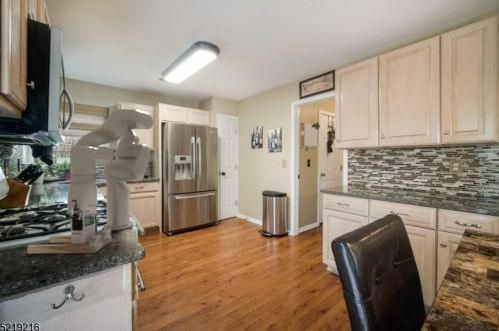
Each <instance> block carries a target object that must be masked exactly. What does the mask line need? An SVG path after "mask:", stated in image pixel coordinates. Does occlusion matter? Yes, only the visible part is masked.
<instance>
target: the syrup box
mask: <svg viewBox="0 0 499 331" xmlns="http://www.w3.org/2000/svg"><path fill="white" fill-rule="evenodd" d="M76 211H79V209H76ZM97 211H98V210H97V208H96V205H92V206H90V207H87V208H86V210H84V211H82V217H81V219H82V223H83V229H82V230H81V231H73V230H72V220H71V219H70V235H71V241H72V243H89V238H91V237H92V236H94V235H96V234H98V216H97ZM76 214H77V215H78V214H79V213H76Z"/></svg>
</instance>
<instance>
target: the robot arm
mask: <svg viewBox="0 0 499 331" xmlns="http://www.w3.org/2000/svg"><path fill="white" fill-rule="evenodd" d="M153 125H154V119H153V116H152V115H151V114H150V113H148V112H145V111H143V110H140V109H136V108H135V109H134V108H133V109H132V108H116V109H113V110H112V112H110V114H109V115H108V117H107V118H106V120H105V121H104V122H103V124H102V126H101V127H98V128H95V129H94V130H92V131H90V132H88V133H86V134H83V135H82V136H81V137H80V138H79V139H78V141H77V142H76V143H74V145H73V146H70V149H69V163H70V166H69V167H70V171H69V172H70V184H69V186H68V191H67V192H68V193H67V206H66V207H67V210H66V214H67V215H68V217H69V218H70V221H71V220H72V230H73V231H81V230H82V229H83V223H82V219H81V217H82V211H84V210H86V208H87V207H90V206H92V205H96V208H97V207H98V204H99V200H98V194H97V192H98V191H97V185H96V183H97V178H96V177H97V172H96V171H97V170H96V168H97V167H96V166H103V175H104V179H105V186H106V223H107V224H106V223H105V225H104V224H103V226H102V229H103V228H104V229H111V231H120V230H125V229H129V228H131V227H133V225H134V222H133V220H131V217H132V216H133V215H132V213H131V212H130V211H131V210H130V209H131V208H130V205H131V204H130V197H131V196H130V195H131V194H130V191H131V190H130V188H129V185H128V184H127V182H139V181H142V180H143V179H144V177H145V174H146V171H147V168H148V165H149V162H150V158H151V151H150V150H151V149H150V147H149V146H148V145H146V144H144V143H140V137H139V136H138V134H137V133H136V132H135V131H134V130H150V129H152V127H153ZM118 140H119V142H118V145H117V146H116V150H115V152H113V150H112V149H111V148H109V147H108V146H102V145H105V144H110V143H113V142H116V141H118ZM114 157H115V160H114ZM76 209H79V211H76ZM76 213H79V214H78V215H77V214H76ZM104 229H103V230H104Z"/></svg>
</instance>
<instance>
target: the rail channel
mask: <svg viewBox="0 0 499 331" xmlns="http://www.w3.org/2000/svg"><path fill="white" fill-rule="evenodd" d="M48 238H49V244H30V245H28V246H27V248H26V249H27V252H26V253H27V255H28V254H29V255H31V254H33V255H35V254H38V255H39V254H87V253H88V254H89V253H91V254H92V253H97V252H98V251H99V250H100V249H102V248H103V247H105V246H106V245H108V244H109V243H111V242H112V230H111V229H103V230H102V231H99V232H97V234H96V235H94V236H92V237H91V238H89V243H72V241H71V234H69V235H68V234H64V235H63V234H57V235H56V234H55V235H54V234H52V235H50V236H49V237H48Z"/></svg>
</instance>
